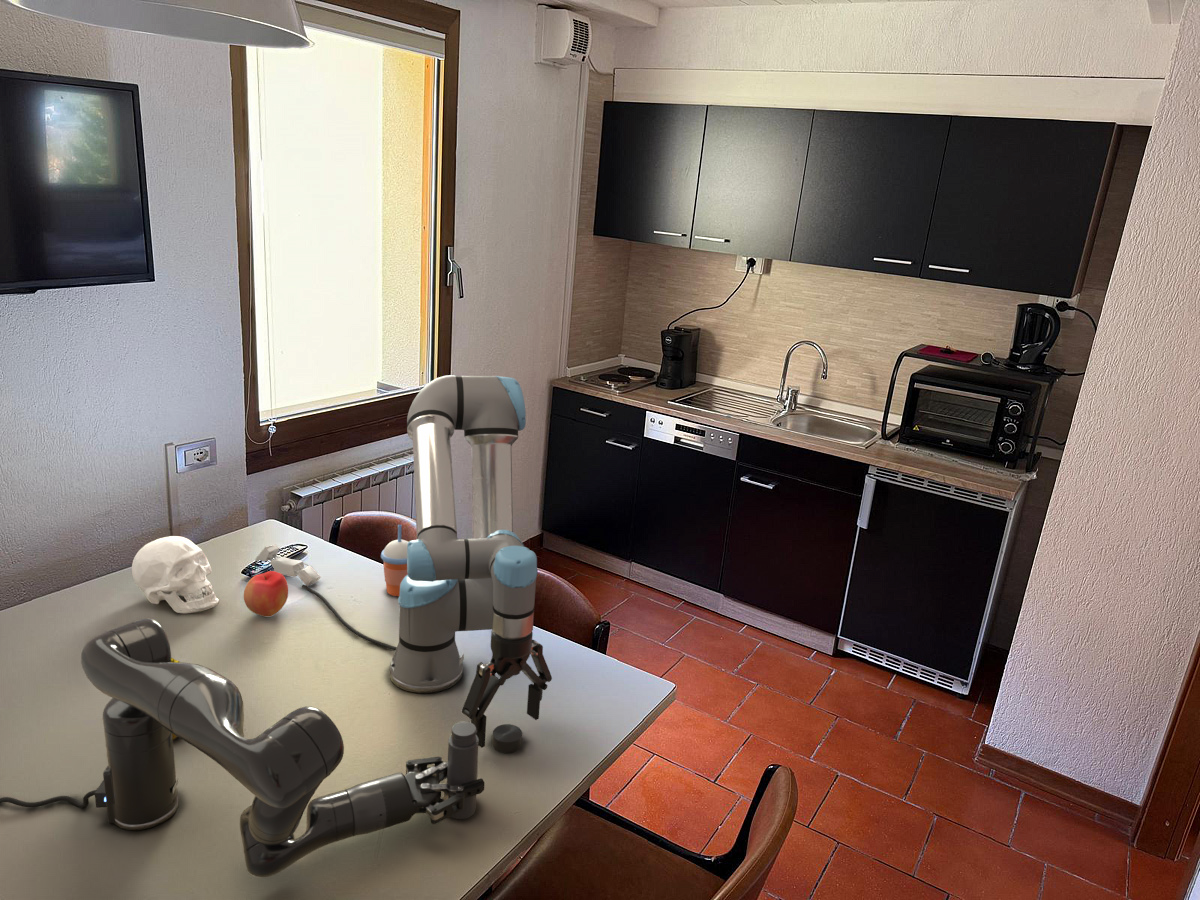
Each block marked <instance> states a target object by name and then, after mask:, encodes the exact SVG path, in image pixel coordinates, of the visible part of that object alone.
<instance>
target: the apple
mask: <svg viewBox="0 0 1200 900" xmlns="http://www.w3.org/2000/svg"><path fill="white" fill-rule="evenodd" d="M288 597H289V584H288V581H287V579H286V577H285V575H282V574H281V573H278V572H275V571H268V570H267V571H266V572H264V573H259V574H255V575H254V576H253V577H251V578H250V579H249V580H248V582H247V583H246V585H245V587H244V590H243V601H244V604H245V607H247V609H248V610H249V611H250V612H252V613H253V614H255V615H257V616H261V617H265V618H269V617H273V616H275V615H276V614H278V613H279V612H280V611H281V610H282V609H283V607H284V606H285V605H286V603H287V600H288Z"/></svg>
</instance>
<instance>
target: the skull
mask: <svg viewBox="0 0 1200 900" xmlns="http://www.w3.org/2000/svg"><path fill="white" fill-rule="evenodd" d="M131 574H132V579H133V581H134V583H135V585H136V586H137V588H138V589H139V590H140V591H141V593H142V594H143V596H144V597H145V598H146V599H147V601H149V602H150V603H151V605H153V604H154V605H159V603H160V601H166V603H168V605H169V607H171V608H172V610H173V612H175V613H177V614H184V615H185V614H193V613H199V612H202V611H206V610H209V609H211V608H214V607H216V606H218V604H219V603H220V601H219V600H220V599H219V598H218V597H217V596H216V593H215V591H214V590H213V588H214V586H213V585H212V583H211V582H210V581H209V579H208V578H207V577H208V575H210V574H212V567H211V564H210V562H209V560H208V558H207V555H206V554H205V552H204V551H203V549H201V548H200V547H199V546H198V545H196V544H195V543H194V542H193V541H192V540H191V539H189V538H187V537H184V536H181V535H180V536H178V535H169V536H164V537H160V538H157V539H154V540H152V541H150V542H148V543H146V544H144V545H143V546H142V547H141V548H140V549H139V550H138V551H137V553H136V554H135V556H134V557H133V560H132V564H131ZM177 593H178V594H177ZM179 596H181V597H184V600H185V601H184V600H182V599H181V598H180V597H179ZM180 610H182V611H180ZM191 610H192V611H191Z"/></svg>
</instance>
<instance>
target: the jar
mask: <svg viewBox="0 0 1200 900" xmlns="http://www.w3.org/2000/svg"><path fill="white" fill-rule="evenodd" d="M476 733H477V729H476V726H475V725H474V724H473V723H471V721H464V720H463V721H458V722H456V723H454V724H453V725H452V726H451V735H450V736H449V737H448V742H447V743H448V745H447V762H448V770H447V778H446V783H447V784H449V786H455V785H462V784H464V783H467V782H471V781H474V780H477V779H478V768H479V767H478V766H479V765H478V764H479V745H478V744H479V739H478V736H477V735H476ZM454 795H456V793H449V796H454ZM454 805H456V804H454ZM454 805H453V806H454ZM453 806H452V807H453ZM476 809H477V795H474V796H471V797H468V798H465V799H464V808H463V810H461V811H459V812H458V813H456V814H454V815H452V816H450V817H449V818H452V819H456V820H466V819H468V818H470V817H472V816H473V815H474V814H475V813H476V811H477V810H476Z"/></svg>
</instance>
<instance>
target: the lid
mask: <svg viewBox="0 0 1200 900" xmlns="http://www.w3.org/2000/svg"><path fill="white" fill-rule="evenodd" d="M522 743H523V730H522V729H521V728H520V727H519V726H517V725H515V724H511V723H504V724H499V725H497V726H496V727H495V728H493V730H492V738H491V746H492V748H493V749H494V750H495V751H497V752H499V753H503V754H510V753H511V754H512V753H514V752H517V751H518V750H520V749H521V747H522V745H523V744H522Z"/></svg>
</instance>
